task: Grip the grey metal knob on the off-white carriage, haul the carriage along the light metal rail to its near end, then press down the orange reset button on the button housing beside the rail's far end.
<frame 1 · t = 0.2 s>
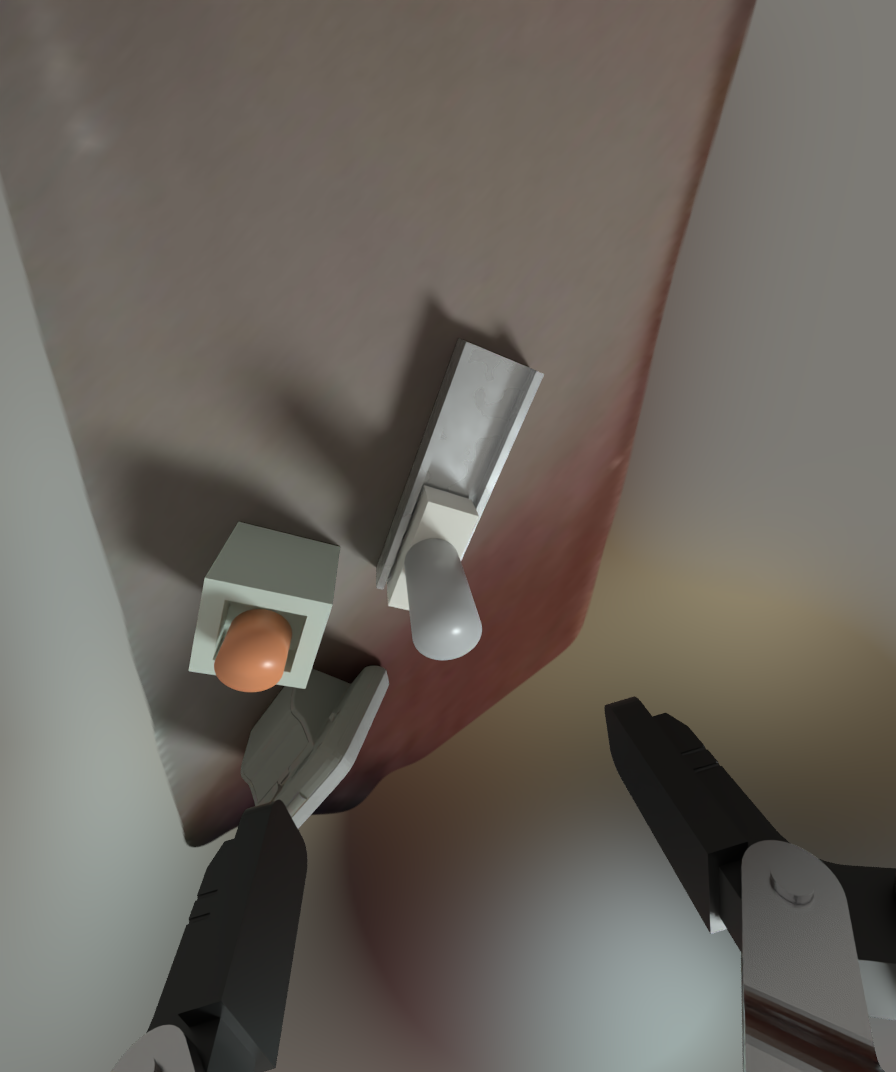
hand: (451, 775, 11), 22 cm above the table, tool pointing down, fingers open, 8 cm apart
reset button: (255, 649, 26), point 8 cm above the table, slide at 0.0 cm
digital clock: (318, 710, 40), on the table
carriage: (436, 581, 27), point 7 cm above the table, slide at 0.0 cm
rail: (446, 476, 31), on the table
button housing: (280, 574, 33), on the table
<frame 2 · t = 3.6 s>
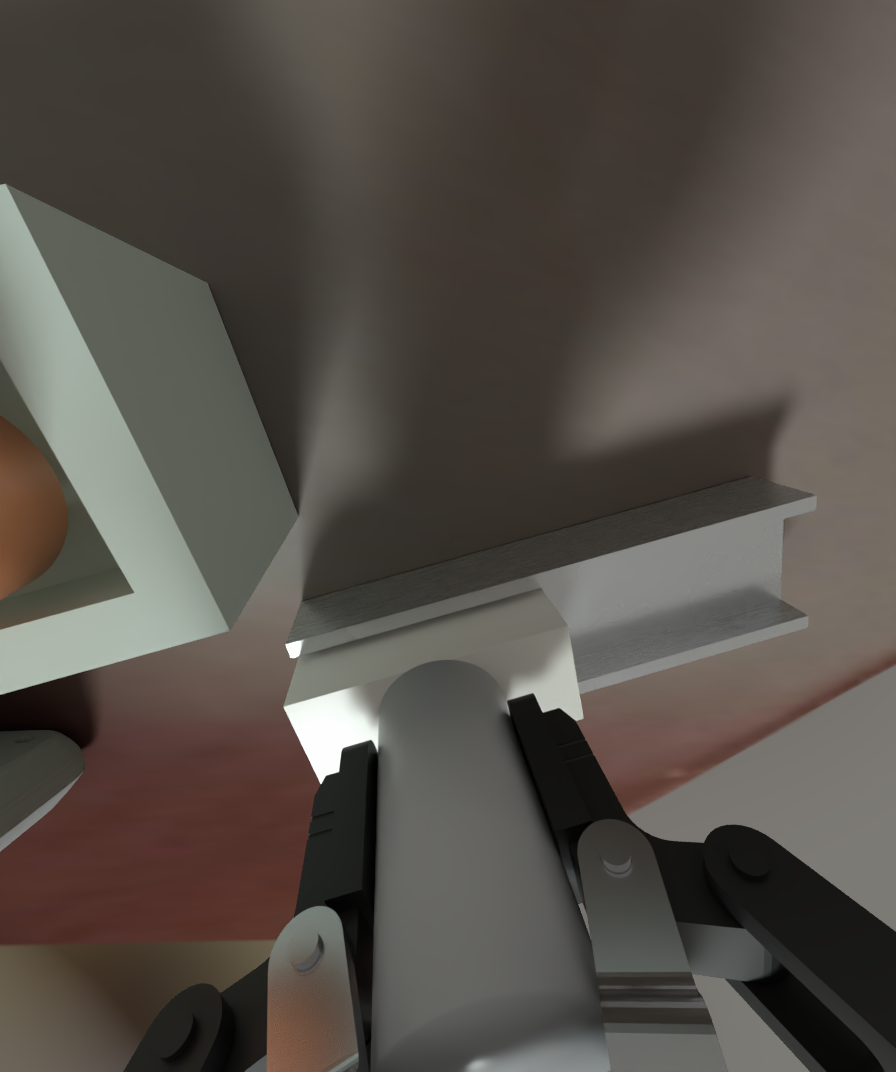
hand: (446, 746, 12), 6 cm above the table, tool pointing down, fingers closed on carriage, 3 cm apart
carriage: (452, 776, 11), point 7 cm above the table, slide at 0.0 cm, touching gripper
rail: (541, 596, 17), on the table
button housing: (143, 440, 13), on the table
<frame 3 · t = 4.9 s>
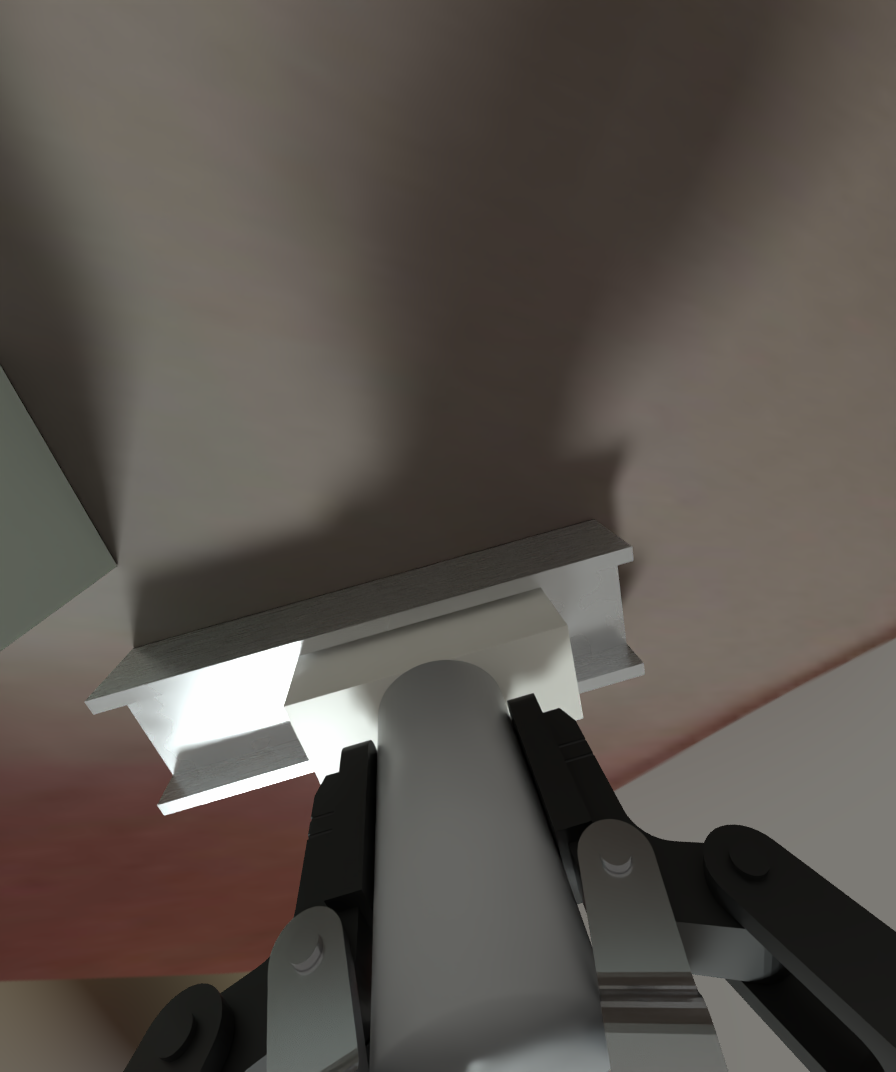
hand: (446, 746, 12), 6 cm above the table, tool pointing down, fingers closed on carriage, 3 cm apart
carriage: (452, 776, 11), point 7 cm above the table, slide at 6.1 cm, touching gripper
rail: (387, 639, 17), on the table
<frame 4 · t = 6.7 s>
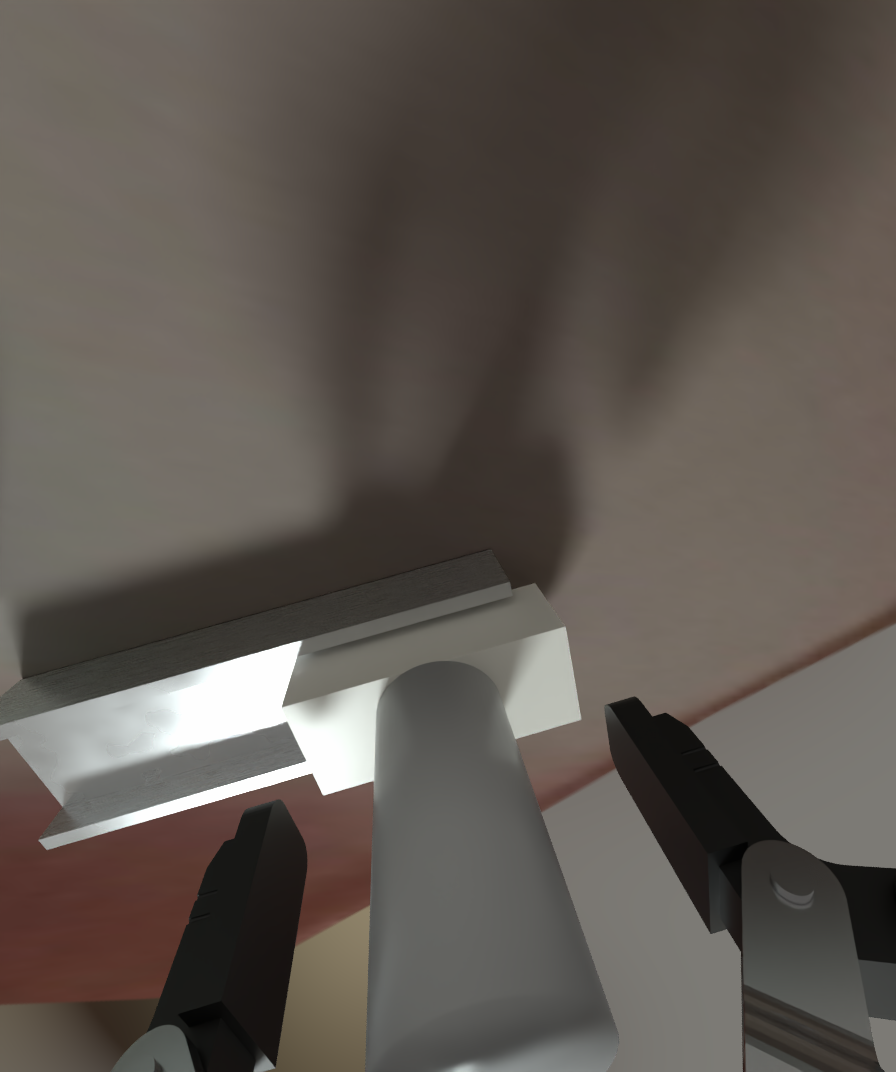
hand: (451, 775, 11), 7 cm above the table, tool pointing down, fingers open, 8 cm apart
carriage: (449, 778, 11), point 7 cm above the table, slide at 10.0 cm
rail: (286, 669, 17), on the table
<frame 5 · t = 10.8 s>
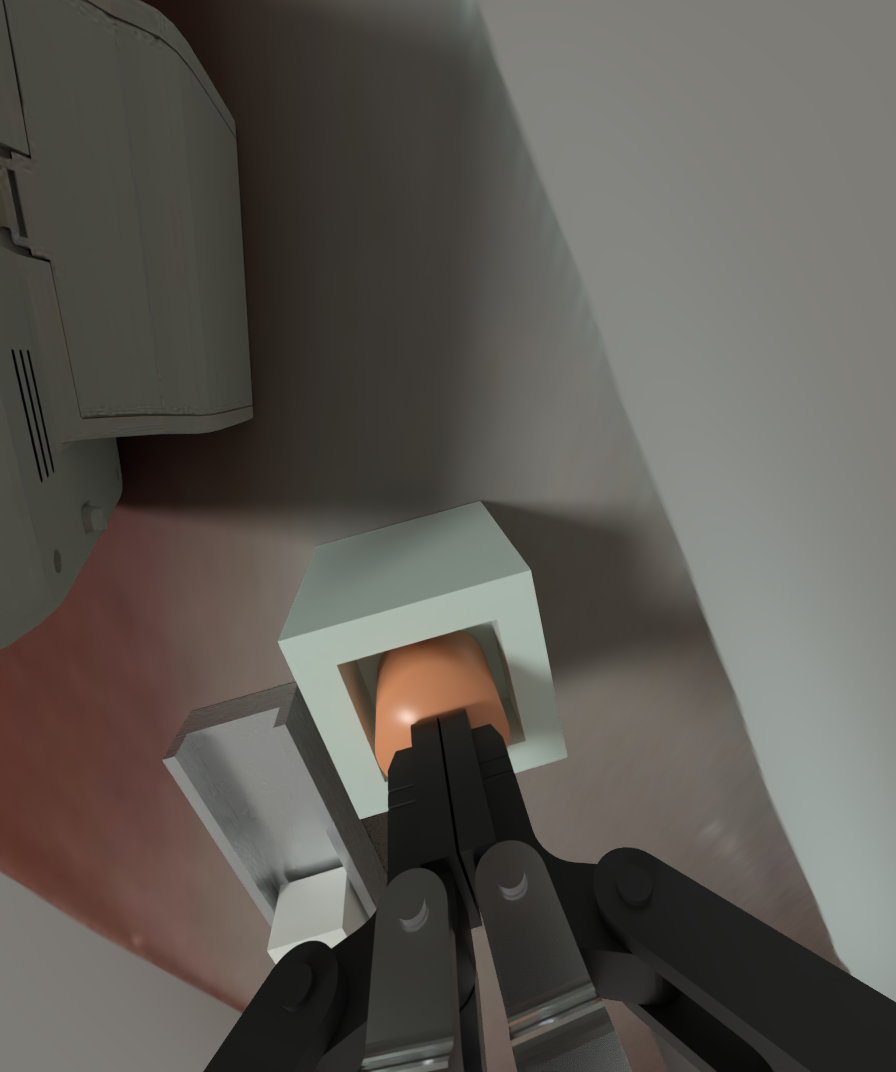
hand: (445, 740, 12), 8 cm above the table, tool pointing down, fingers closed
reset button: (437, 704, 13), point 7 cm above the table, slide at 1.1 cm, touching gripper
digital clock: (115, 271, 15), on the table
carriage: (329, 1052, 19), point 7 cm above the table, slide at 10.0 cm
rail: (309, 821, 23), on the table
button housing: (420, 595, 20), on the table
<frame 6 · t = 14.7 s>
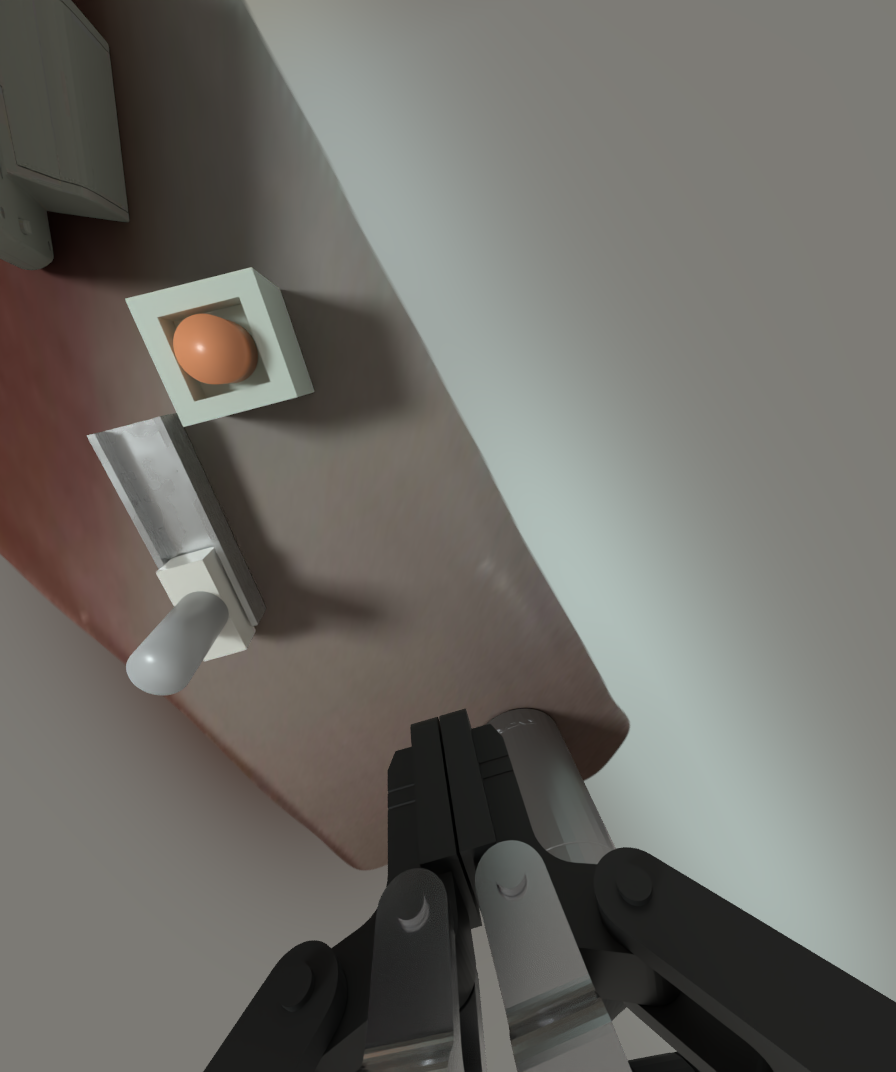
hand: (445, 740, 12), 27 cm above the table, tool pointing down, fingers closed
reset button: (218, 351, 26), point 7 cm above the table, slide at 1.4 cm
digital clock: (47, 127, 27), on the table
carriage: (191, 628, 32), point 7 cm above the table, slide at 10.0 cm
rail: (194, 527, 36), on the table
button housing: (250, 354, 32), on the table
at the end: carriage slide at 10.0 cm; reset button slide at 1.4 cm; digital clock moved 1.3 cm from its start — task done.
